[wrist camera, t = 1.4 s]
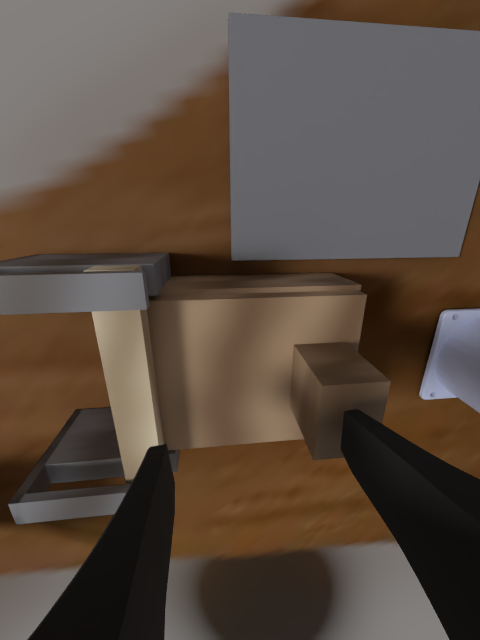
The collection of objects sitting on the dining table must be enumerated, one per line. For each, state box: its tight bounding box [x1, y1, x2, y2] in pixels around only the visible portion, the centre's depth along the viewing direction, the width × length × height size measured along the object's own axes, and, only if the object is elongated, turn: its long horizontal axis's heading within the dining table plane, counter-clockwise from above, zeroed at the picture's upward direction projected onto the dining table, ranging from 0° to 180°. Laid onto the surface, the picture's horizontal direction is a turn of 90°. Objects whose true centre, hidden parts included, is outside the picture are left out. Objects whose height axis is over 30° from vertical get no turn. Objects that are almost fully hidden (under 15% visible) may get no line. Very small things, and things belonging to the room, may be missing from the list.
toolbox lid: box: [147, 290, 391, 460], centre depth 14 cm, size 14×9×5 cm
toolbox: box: [0, 253, 361, 525], centre depth 16 cm, size 19×13×7 cm
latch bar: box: [83, 265, 164, 484], centre depth 14 cm, size 2×13×1 cm, turn 0°
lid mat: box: [228, 13, 480, 261], centre depth 16 cm, size 16×12×1 cm
